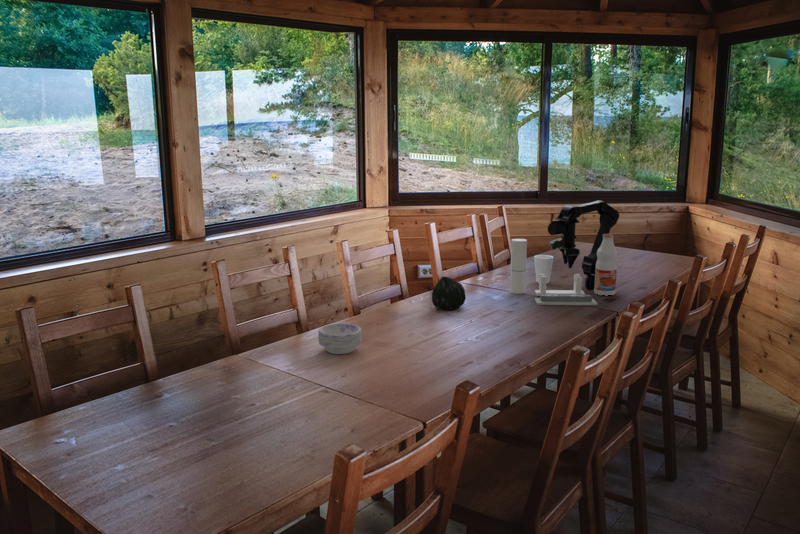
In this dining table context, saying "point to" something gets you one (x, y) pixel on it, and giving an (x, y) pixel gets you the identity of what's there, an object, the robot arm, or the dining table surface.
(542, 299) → the metal rail
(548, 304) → the pale sage plank
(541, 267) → the foam cup
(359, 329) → the paper bowls
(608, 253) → the fruit juice
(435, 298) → the squash
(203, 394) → the dining table surface
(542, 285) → the stand
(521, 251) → the cylindrical container
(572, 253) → the robot arm
